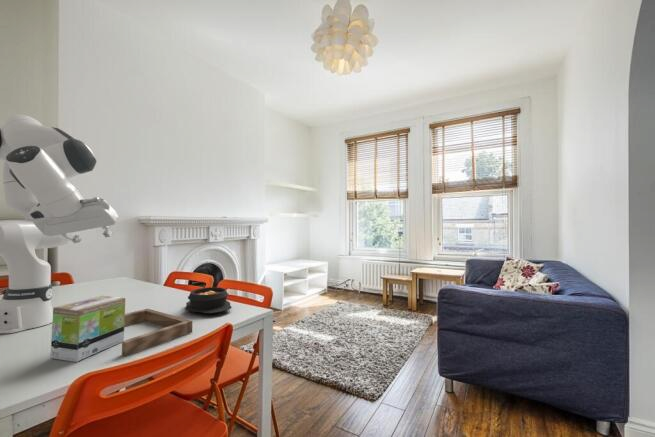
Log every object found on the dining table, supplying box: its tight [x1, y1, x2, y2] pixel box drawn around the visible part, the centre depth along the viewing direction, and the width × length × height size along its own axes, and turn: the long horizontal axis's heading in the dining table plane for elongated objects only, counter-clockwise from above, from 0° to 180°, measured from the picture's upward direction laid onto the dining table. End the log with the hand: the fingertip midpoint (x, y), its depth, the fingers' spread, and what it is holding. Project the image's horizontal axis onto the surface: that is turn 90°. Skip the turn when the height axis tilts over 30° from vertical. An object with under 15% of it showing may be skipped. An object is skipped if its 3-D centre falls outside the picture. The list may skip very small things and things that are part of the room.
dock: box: [121, 308, 194, 358], centre depth 102 cm, size 22×28×4 cm
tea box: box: [50, 295, 126, 363], centre depth 90 cm, size 15×10×15 cm, turn 168°
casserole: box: [185, 286, 233, 314], centre depth 132 cm, size 25×19×8 cm
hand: (93, 238), depth 92 cm, fingers open, 8 cm apart
